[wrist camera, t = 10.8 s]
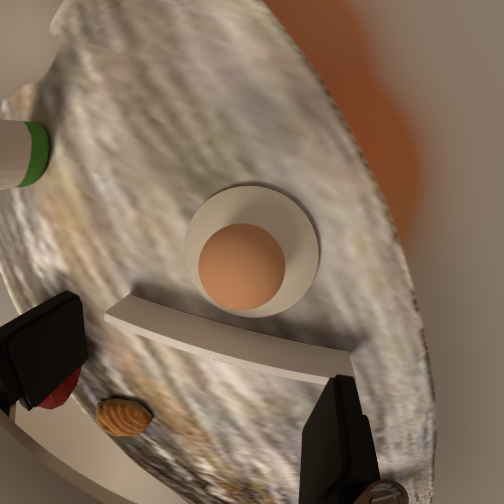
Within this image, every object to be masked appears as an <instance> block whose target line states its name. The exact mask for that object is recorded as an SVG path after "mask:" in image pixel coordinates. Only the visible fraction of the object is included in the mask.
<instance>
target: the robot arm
mask: <svg viewBox="0 0 504 504" xmlns="http://www.w3.org/2000/svg"><path fill="white" fill-rule="evenodd" d="M87 357H88V353H87V346H86V338H85V329H84V319H83V307H82V302H81V301H80V297H79V296H78V295H76V294H74V293H72V292H70V291H67V290H66V291H64V292H62V293H60V294H58V295H56V296H54V297H52V298H51V299H49V300H47V301H45V302H43V303H42V304H40V305H38V306H36V307H34V308H33V309H31V310H29V311H27V312H25V313H24V314H22V315H20V316H18V317H17V318H15V319H13V320H12V321H10V322H8V323H6V324H5V325H3V326H1V327H0V504H137V503H134V502H132V501H130V500H128V499H126V498H124V497H122V496H120V495H118V494H115V493H114V492H112V491H109V490H108V489H106V488H104V487H103V486H101V485H99V484H97V483H95V482H94V481H92V480H90V479H88V478H87V477H85V476H84V475H82V474H80V473H79V472H77V471H76V470H74V469H73V468H71V467H70V466H68V465H67V464H65V463H64V462H62V461H61V460H59V459H58V458H57V457H55V456H54V455H53V454H51V453H50V452H49V451H47V450H46V449H45V448H44V447H42V446H41V445H40V444H38V443H37V442H36V441H35V440H33V439H32V438H31V437H30V436H29V435H28V434H26V433H25V432H24V431H23V430H22V429H21V428H20V427H19V426H17V425H16V424H15V411H16V410H15V409H16V401H18V400H19V401H20V404H21V405H22V406H24V407H25V408H26V409H27V410H28V411H30V410H31V409H32V408H33V407H37V406H38V405H40V404H41V403H42V402H43V401H44V400H45V399H46V398H47V397H48V396H49V395H50V394H51V393H52V392H53V391H54V390H55V389H56V388H58V387H59V386H60V385H61V384H62V383H63V382H64V381H65V380H66V379H67V378H68V377H69V376H71V375H72V374H73V373H74V372H75V371H76V370H77V369H78V368H79V367H80V366H81V365H83V364H84V363H85V362H86V360H87ZM408 503H409V497H408V493H407V491H406V490H405V488H404V487H403V486H402V485H401V484H399V483H398V482H396V481H393V480H388V479H383V480H381V478H380V473H379V467H378V462H377V457H376V452H375V447H374V442H373V437H372V433H371V428H370V424H369V420H368V417H367V416H366V415H363V414H362V409H361V405H360V400H359V396H358V392H357V387H356V383H355V379H354V377H353V376H347V375H340V374H337V375H336V376H335V377H334V378H332V377H330V378H329V380H328V382H327V384H326V386H325V388H324V390H323V392H322V394H321V396H320V398H319V400H318V402H317V404H316V406H315V407H314V409H313V411H312V413H311V415H310V417H309V419H308V420H307V422H306V424H305V426H304V428H303V432H302V450H301V472H300V489H299V503H298V504H408Z"/></svg>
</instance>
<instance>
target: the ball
mask: <svg viewBox="0 0 504 504" xmlns="http://www.w3.org/2000/svg"><path fill="white" fill-rule="evenodd" d="M198 271H199V277H200V281H201V283H202V285H203V287H204V289H205V291H206V292H207V294H208V295H209V296H210V297H211V298H212V299H213V300H214V301H215V302H217V303H218V304H220V305H222V306H224V307H226V308H229V309H233V310H251V309H255V308H258V307H260V306H262V305H264V304H266V303H267V302H268V301H270V300H271V299H272V298H273V297H274V296H275V295H276V293H277V292H278V291H279V289H280V287H281V285H282V283H283V280H284V276H285V258H284V254H283V251H282V249H281V247H280V245H279V243H278V242H277V241H276V239H275V238H274V237H273V236H272V235H271V234H270V233H268V232H267V231H266V230H264V229H262V228H260V227H258V226H255V225H251V224H245V223H239V224H232V225H229V226H226V227H223V228H221V229H220V230H218V231H217V232H215V233H214V234H213V235H212V236H211V237H210V238H209V239H208V240H207V241H206V243H205V245H204V246H203V248H202V251H201V253H200V257H199V263H198Z"/></svg>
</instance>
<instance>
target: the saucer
mask: <svg viewBox="0 0 504 504" xmlns="http://www.w3.org/2000/svg"><path fill="white" fill-rule="evenodd" d="M239 223H245V224H251V225H255V226H258V227H260V228H262V229H264V230H266V231H267V232H268V233H270V234H271V235H272V236H273V237H274V238H275V239H276V241H277V242H278V243H279V245H280V247H281V249H282V251H283V254H284V258H285V276H284V280H283V283H282V285H281V287H280V289H279V291H278V292H277V293H276V295H275V296H274V297H273V298H272V299H271V300H270V301H268V302H267V303H266V304H264V305H262V306H260V307H258V308H255V309H251V310H233V309H229V308H226V307H224V306H222V305H220V304H218V303H217V302H215V301H214V300H213V299H212V298H211V297H210V296H209V295H208V294H207V292H206V291H205V289H204V287H203V285H202V283H201V281H200V277H199V271H198V263H199V257H200V253H201V251H202V248H203V246H204V245H205V243H206V241H207V240H208V239H209V238H210V237H211V236H212V235H213V234H214V233H215V232H217V231H218V230H220V229H221V228H223V227H226V226H229V225H232V224H239ZM184 256H185V263H186V267H187V270H188V273H189V275H190V278H191V279H192V281H193V283H194V285H195V286H196V288H197V289H198V291H199V292H200V293H201V294H202V295H203V296H204V297H205V298H206V299H207V300H208V301H209V302H210V303H212V304H213V305H215V306H216V307H218V308H219V309H221V310H223V311H225V312H228V313H230V314H233V315H237V316H241V317H249V318H259V317H267V316H271V315H275V314H277V313H280V312H282V311H284V310H286V309H288V308H289V307H291V306H292V305H294V304H295V303H296V302H297V301H298V300H300V299H301V298H302V297H303V295H304V294H305V293H306V292H307V290H308V289H309V287H310V285H311V284H312V282H313V279H314V277H315V274H316V270H317V267H318V259H319V249H318V242H317V238H316V234H315V231H314V229H313V227H312V224H311V222H310V221H309V219H308V217H307V216H306V214H305V213H304V212H303V211H302V209H301V208H300V207H299V206H298V205H297V204H296V203H295V202H294V201H292V200H291V199H289V198H288V197H287V196H285V195H283V194H281V193H279V192H277V191H275V190H272V189H269V188H265V187H260V186H239V187H234V188H230V189H227V190H224V191H222V192H220V193H218V194H216V195H214V196H213V197H211V198H210V199H209V200H207V201H206V202H205V203H204V204H203V205H202V206H201V207H200V208H199V209H198V210H197V212H196V213H195V215H194V216H193V218H192V220H191V221H190V224H189V226H188V229H187V232H186V236H185V243H184Z"/></svg>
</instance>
